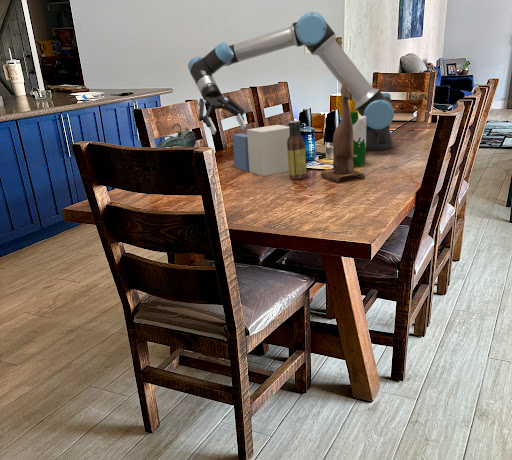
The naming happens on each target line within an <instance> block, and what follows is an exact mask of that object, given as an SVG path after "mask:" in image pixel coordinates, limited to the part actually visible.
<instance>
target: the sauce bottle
mask: <svg viewBox="0 0 512 460" xmlns="http://www.w3.org/2000/svg"><path fill="white" fill-rule="evenodd" d="M287 125H288V126H289V131H290V133H289V134H290V136H289V138H288V140H287V153H288V167H289V171H288V175H289V178H290V179H291V180H303V179H306V178H307V172H308V170H307V158H306V156H307V155H306V146H305V140H304V138H303V136H302V134H301V127H300V126H301V121H300V120H290V121H288V124H287Z"/></svg>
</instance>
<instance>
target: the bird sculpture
mask: <svg viewBox="0 0 512 460" xmlns="http://www.w3.org/2000/svg"><path fill="white" fill-rule="evenodd" d="M340 99H341V118H340V119H341V121H340V122H339V124H338V125H337V126H336V129H334V132H333V136H332V137H333V139H332V165H333V166H332V167H333V168H332V169H327V170H322V171H321V172H320V178H323V179H324V180H325V179H326V180H328V181H330V182H334V183H336V184H338V183H339V182H340V180H341V179H342V178H343V177H347V176H348V177H349V176H356V177H360V178H362V179H366V175H365V173H364V172H360V171H357V170H355V167H354V164H353V154H354V151H353V146H354V145H353V126H352V120H351V113H350V112H351V108H350V104H349V101H353V99H352V94H351V92H350V91H349V89H348V86H347V84H346V83H344V84H343V85H341V88H340Z"/></svg>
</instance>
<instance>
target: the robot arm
mask: <svg viewBox="0 0 512 460" xmlns="http://www.w3.org/2000/svg"><path fill="white" fill-rule="evenodd" d="M293 46H296V47H297V48H298V47H303V46H305V47H306V48H307V51H309V53H311V55H313V56H318V57H319V58H320V59H321V61H322V62H323V63H324V65H325V66H326V67H327V69H328V70H329V71H330V72H331V74H332V75H333V76H334V77H335V79H336V80H337V81H338V82H339V83H340V85H341V86H342V85H343V84H344V83H346V84H347V86H348V89H349V91H350V92H351V94H352V101H354V103H355V105H354V109H355V111H356V112H358V115H359V116H366V151H383V150H390V149H393V148H394V139H393V136H392V133H391V123H392V122H393V120H394V115H395V110H394V107H393V105H392V102H391V101H392V98H391V97H392V96H391V93H390V92H381V90H380V89H379V88H374V87H373V86H372V85H371V84H370V82H369V81H368V80H367V79H366V78H365V76H364V75H363V74H362V73H361V72H360V70H359V69H358V68H357V66H356V65H355V64H354V63H353V61H352V59H350V57H349V56H348V55H347V53H346V52H345V50H343V48H342V47H341V46H340V44H339V43H338V42H337V41H336V33H335V31H334V30H333V29H332V28H331V27H330V25H329V23H328V22H327V21H326V19H325V17H324V16H323V15H322V14H320V13H319V12H315V11H309V12H307V13H304V14H303V15H302V16H301V17H300V18H299V19H298V20H297V21H295V22H292V23H291V25H290V26H288V27H285V28H282V29H281V28H280V29H278V30H275V31H272V32H270V33H269V32H268V33H266V34H263V35H259V36H256V37H253V38H250V39H247V40H243V41H240V42H237V43H233V44H231V45H228V44H227V43H226V42H224V41H222V42H220V44H219V43H218V44H217V45H216V46H215V47H214V48H213V49H212V50H210V52H208V53H207V54H206V55H205V56H204V57H202V56H196V57H192V58H190V60H189V62H188V64H187V68H188V70H189V73H190V75H191V77H192V79H193V81H194V83H195V85H196V86H197V89H198V91H199V93H200V94H201V97H202V98H200V99H198V100H199V101H198V106H199V109H198V111H199V112H198V121H199V122H202V123H203V124H205V126H206V127H207V128H209V130H210V132H211V134H212V135H213V136H214V135H216V133H217V129H216V127H215V125H214V122H213V121H212V118H211V117H210V116H209V115H210V113H211V111H212V109H213V110H219V109H222V110H225V111H226V112H229V113H230V114H232V115H234V116H235V118H236V121H237V122H238V124H239V126H240V128H241V130H242V131H245V129H246V127H247V125H246V123H245V118H244V113H245V109H244V108H242V107H241V106H240V105H239V104H238V103H236V102H235V100H233V99H232V98H231V96H230V95H227V96H226V97H224V96H222V92H221V90H220V89H219V86H218V84H217V83H216V80H215V78H214V77H213V74H215V73H216V72H218V70H220V69H221V68H223V67H228V66H231V65H234V64H237V63H240V62H243V61H246V60H249V59H254V58H257V57H259V56H263V55H267V54H270V53H274V52H277V51H280V50H283V49H286V48H290V47H293ZM205 105H207V106H208V108H207V110H206V112H205V115H204V110H205Z"/></svg>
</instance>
